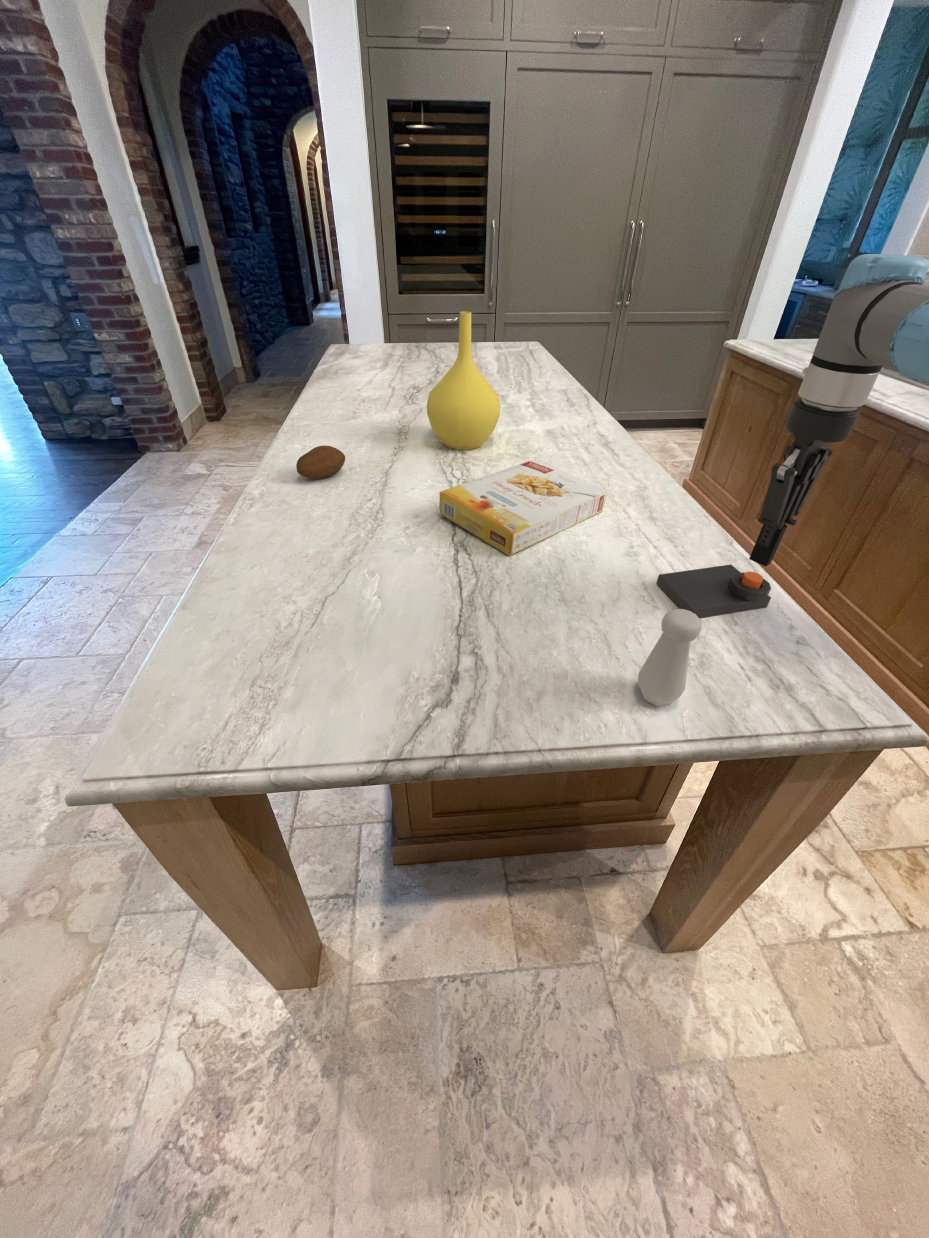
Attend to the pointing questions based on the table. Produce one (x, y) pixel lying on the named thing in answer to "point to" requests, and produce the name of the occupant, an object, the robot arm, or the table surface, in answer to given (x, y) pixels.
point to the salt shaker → (669, 658)
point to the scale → (713, 591)
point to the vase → (463, 399)
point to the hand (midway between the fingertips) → (759, 561)
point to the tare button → (752, 580)
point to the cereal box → (521, 504)
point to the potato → (320, 462)
